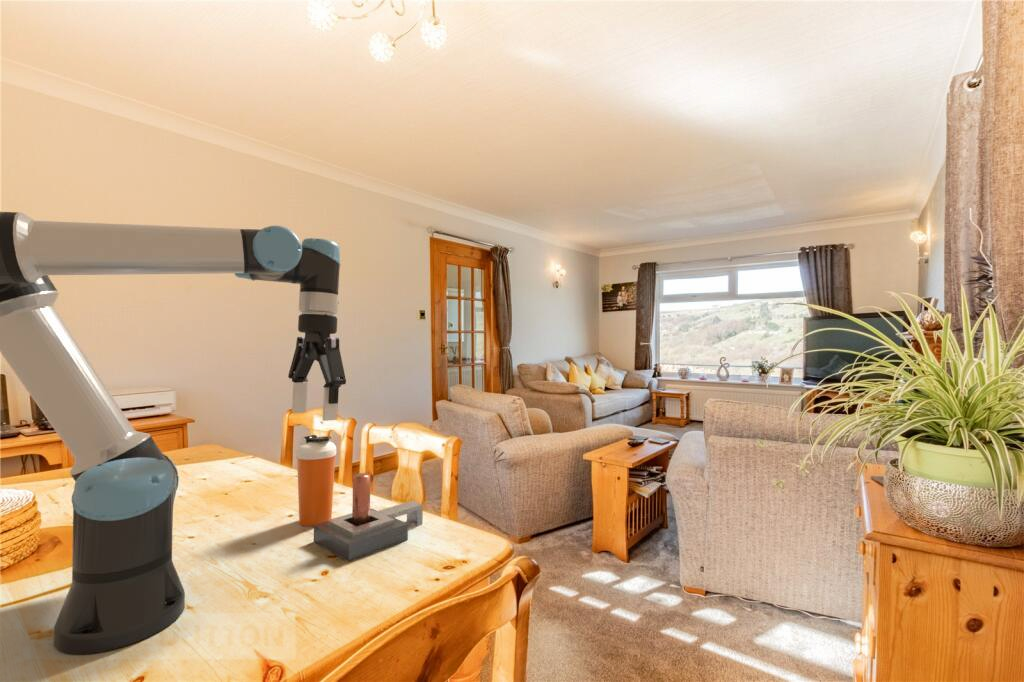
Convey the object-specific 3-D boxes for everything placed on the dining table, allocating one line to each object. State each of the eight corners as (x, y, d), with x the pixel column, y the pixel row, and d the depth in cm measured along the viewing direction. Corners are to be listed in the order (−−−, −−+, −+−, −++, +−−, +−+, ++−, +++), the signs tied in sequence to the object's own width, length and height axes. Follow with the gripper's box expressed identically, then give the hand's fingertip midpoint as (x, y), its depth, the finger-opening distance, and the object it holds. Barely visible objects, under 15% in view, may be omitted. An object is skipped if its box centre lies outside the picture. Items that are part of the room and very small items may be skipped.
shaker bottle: (321, 529, 107) (322, 441, 107) (286, 526, 109) (287, 439, 109) (342, 515, 116) (344, 434, 116) (310, 512, 118) (311, 432, 118)
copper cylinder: (357, 545, 99) (358, 478, 99) (348, 541, 101) (349, 475, 101) (372, 540, 102) (373, 475, 102) (363, 536, 104) (364, 472, 104)
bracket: (352, 555, 94) (352, 532, 95) (327, 541, 101) (327, 520, 101) (430, 526, 110) (430, 507, 110) (404, 516, 116) (404, 497, 116)
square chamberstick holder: (348, 561, 92) (348, 543, 92) (313, 541, 101) (313, 525, 101) (407, 539, 102) (407, 523, 102) (371, 523, 111) (371, 508, 111)
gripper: (366, 314, 94) (362, 421, 93) (308, 317, 110) (304, 408, 110) (331, 311, 88) (325, 425, 87) (274, 314, 104) (270, 410, 104)
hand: (313, 416), depth 98 cm, fingers open, 13 cm apart
